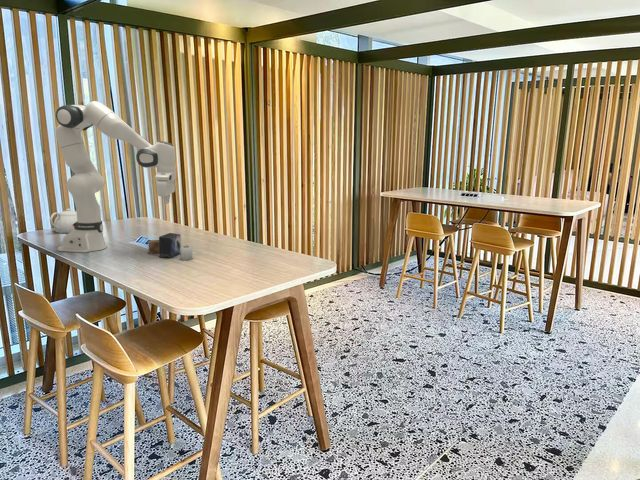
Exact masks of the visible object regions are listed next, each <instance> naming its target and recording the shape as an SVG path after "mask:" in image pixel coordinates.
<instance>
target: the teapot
mask: <svg viewBox="0 0 640 480" xmlns="http://www.w3.org/2000/svg"><path fill="white" fill-rule="evenodd" d="M55 215H57V216H56V217H55V219H54V216H55ZM53 219H54V220H53ZM76 222H77V213H76V210H72V208H66V210H63V211H61V212H60V213H59V212H53V213H52V214H51V215H50V217H49V223H50V225H51V226H52V227H53V230H54V232H56V233H58V234H59V233H60V234H68V233H70V232H71V231H72V230H74V226H73V225H72V224H74V223H76Z"/></svg>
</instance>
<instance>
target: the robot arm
mask: <svg viewBox="0 0 640 480" xmlns="http://www.w3.org/2000/svg"><path fill="white" fill-rule="evenodd" d="M55 119H56V121H57V123H58V124H59V125H57V126H56V127H55V137H56V140H57V143H58V147H59V149H60V153H61V154H62V157H63V160H64V162H65V164H66V165H67V167H69V168H70V169H71V171H72V172H73V174H74V175H72V176H71V177H69V178H68V179H67V181H66V189H67V191H68V192H69V193H70V194H71V196H72V200H73V202H74V204H75V205H74V206H75V211H76V213H77V222H76V223H74V224H72V225H73V226H74V230H72V231H71V232H70V233H66V235H65V236H63V238H62V244H61V245H60V246H58V247H57V251H58V252H69V253H72V252H73V253H90V252H95V251H101V250H105V249H107V244H106V241H105V238H104V233H103V232H104V225H103V221H102V212H101V211H102V210H101V205H100V204H99V202H98V200H97V197H96V194H97V193H98V192H101V190H102V189H103V188H104V186H105V183H106V182H105V178H104V177H103V175H102V174H100V173H99V171H98V170H97V168H96V167H95V165H94V163H93V161H92V160H91V157H90V156H89V155H90V154H89V153H88V151H87V150H88V149H87V147H86V145H85V143H84V139H83V138H82V131H83V132H84V131H87V130H88V129H89V128H92V127H93V126H94V127H96V129H98V130H99V131H100V132H101V133H102V134H103V135H105V136H107V137H108V138H111V139H115V140H118V141H119V140H120V141H123V142H126V143H128V144H130V145H132V146H133V147H134V148H135V149H137V150H138V151H137V152H136V156H135V159H136V162H137V163H138V165H139V166H141V167H142V168H146V169H147V168H148V169H149V168H156V174H155V176H154V178H155V179H154V180H155V181H156V194H157V196H158V197H163V200H164V201H163V203H164V204H165V205H168V204H169V203H170V200H171V199H170V198H171V194H173V193H175V191H176V184H175V182H176V181H175V180H176V179H177V175H176V174H177V173H176V172H177V170H176V169H177V168H176V149H175V145H174V144H173V143H170V142H167V141H162V140H161V141H160V140H159V141H157V142H156V143H154V144H152V143H150V142H149V141H148V140H147V139H145V138H144V137H143V135H142V136H141V134H139V133H138V132H137V131H136V130H134V129H133V128H132V127H131V126H129V125H128V124H127V123H126V122H125V121H124V120H123V118H121V117H120V116H119V115H118V114H116V112H114V111H113V109H111V108H109V107H108V106H107V105H105V104H103V103H101V102H100V101H97V100H93V101H91V102H90V101H89V103H87V104H85V105H84V104H83V105H82V104H65V105H62V106H59V107H58V108H57V109H56V112H55Z"/></svg>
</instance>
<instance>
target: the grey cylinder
mask: <svg viewBox="0 0 640 480" xmlns="http://www.w3.org/2000/svg"><path fill="white" fill-rule="evenodd" d="M179 255H180V260H181V261H190V260H193V246H192V245H181V247H180V254H179Z"/></svg>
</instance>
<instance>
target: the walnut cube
mask: <svg viewBox="0 0 640 480" xmlns="http://www.w3.org/2000/svg"><path fill="white" fill-rule="evenodd" d="M147 242H148V243H147V244H148V255H159V239H149V240H148V241H147Z"/></svg>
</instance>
